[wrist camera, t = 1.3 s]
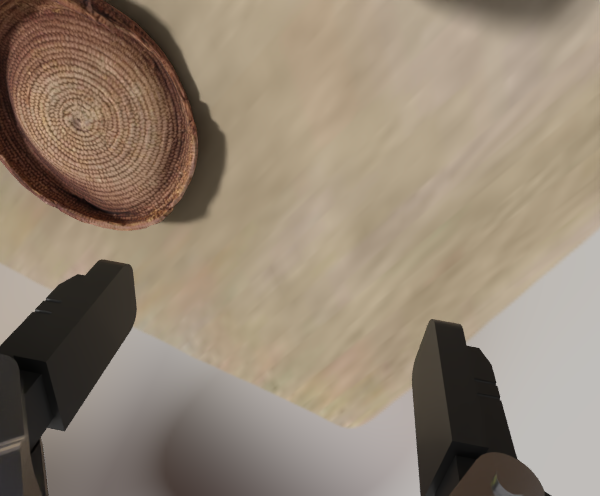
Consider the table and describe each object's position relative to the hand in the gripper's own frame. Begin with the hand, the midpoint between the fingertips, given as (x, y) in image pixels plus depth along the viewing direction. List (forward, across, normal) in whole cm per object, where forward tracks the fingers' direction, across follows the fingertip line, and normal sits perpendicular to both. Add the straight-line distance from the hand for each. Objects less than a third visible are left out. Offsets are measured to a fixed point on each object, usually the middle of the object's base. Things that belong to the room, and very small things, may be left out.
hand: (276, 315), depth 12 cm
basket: (+32, -23, -8) cm, 41 cm away
